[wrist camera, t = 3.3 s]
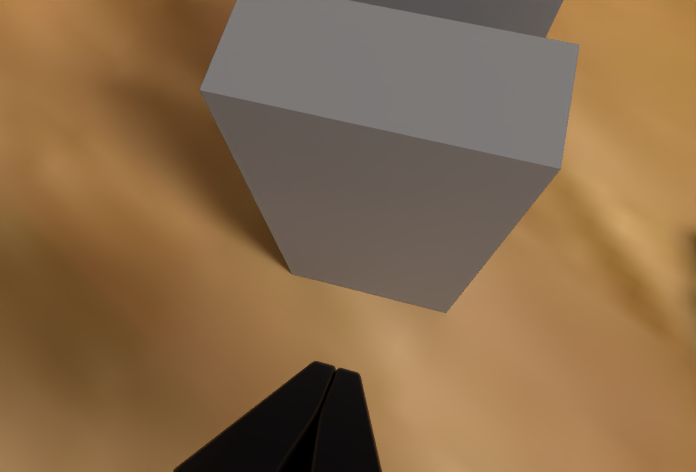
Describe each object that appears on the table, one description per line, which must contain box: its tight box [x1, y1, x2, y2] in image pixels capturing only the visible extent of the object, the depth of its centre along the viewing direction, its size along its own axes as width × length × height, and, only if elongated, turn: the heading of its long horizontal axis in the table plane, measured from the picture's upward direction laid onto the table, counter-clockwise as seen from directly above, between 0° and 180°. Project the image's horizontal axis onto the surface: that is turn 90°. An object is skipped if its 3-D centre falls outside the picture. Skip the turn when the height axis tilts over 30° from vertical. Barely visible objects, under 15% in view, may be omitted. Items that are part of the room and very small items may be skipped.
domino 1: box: [350, 0, 563, 38], centre depth 13 cm, size 2×5×10 cm, turn 75°
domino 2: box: [200, 0, 579, 313], centre depth 12 cm, size 2×5×10 cm, turn 75°
